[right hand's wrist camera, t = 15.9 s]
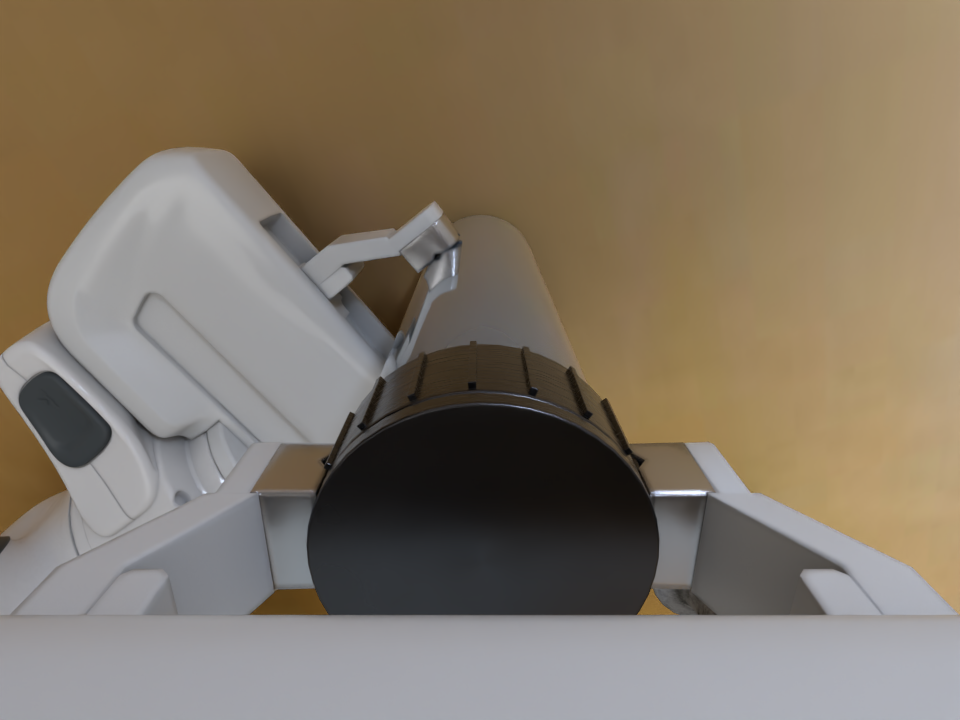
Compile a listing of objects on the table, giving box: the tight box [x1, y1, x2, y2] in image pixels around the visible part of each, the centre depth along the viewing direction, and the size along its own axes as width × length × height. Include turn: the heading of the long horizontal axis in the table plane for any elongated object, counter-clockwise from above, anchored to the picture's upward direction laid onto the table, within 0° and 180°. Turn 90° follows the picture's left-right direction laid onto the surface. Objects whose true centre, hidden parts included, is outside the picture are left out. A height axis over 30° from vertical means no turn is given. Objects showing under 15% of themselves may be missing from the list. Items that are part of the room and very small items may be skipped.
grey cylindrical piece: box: [380, 215, 588, 384], centre depth 17 cm, size 5×5×18 cm
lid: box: [306, 341, 660, 615], centre depth 9 cm, size 5×5×2 cm
